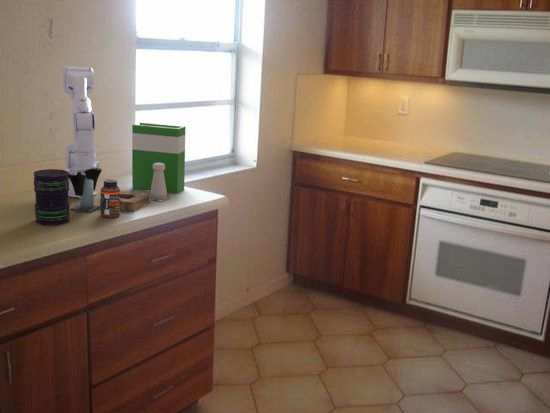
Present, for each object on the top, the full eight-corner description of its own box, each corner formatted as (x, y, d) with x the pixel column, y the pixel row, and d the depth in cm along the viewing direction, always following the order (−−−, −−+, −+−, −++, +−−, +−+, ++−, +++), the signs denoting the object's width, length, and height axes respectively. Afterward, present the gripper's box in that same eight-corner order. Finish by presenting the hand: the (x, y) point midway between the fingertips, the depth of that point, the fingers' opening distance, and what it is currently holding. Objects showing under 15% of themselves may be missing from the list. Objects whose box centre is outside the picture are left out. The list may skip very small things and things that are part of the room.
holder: (100, 207, 203) (100, 198, 202) (117, 199, 214) (117, 190, 213) (133, 211, 200) (133, 202, 199) (149, 203, 211) (149, 194, 211)
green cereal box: (132, 189, 229) (132, 124, 223) (140, 185, 236) (140, 122, 230) (177, 194, 226) (178, 128, 220) (184, 189, 233) (185, 126, 227)
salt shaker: (163, 202, 214) (163, 165, 210) (147, 200, 215) (147, 163, 211) (169, 198, 219) (169, 162, 216) (154, 196, 220) (154, 160, 217)
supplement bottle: (110, 219, 190) (109, 183, 187) (96, 215, 193) (96, 180, 190) (124, 215, 195) (124, 180, 192) (110, 212, 198) (110, 177, 195)
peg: (78, 208, 197) (77, 181, 195) (82, 205, 201) (82, 178, 199) (91, 209, 197) (90, 182, 195) (95, 206, 201) (95, 179, 199)
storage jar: (36, 227, 179) (33, 176, 175) (34, 217, 187) (32, 169, 183) (72, 224, 183) (70, 175, 179) (68, 215, 191) (67, 168, 187)
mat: (70, 210, 197) (70, 208, 197) (81, 205, 204) (81, 203, 204) (89, 213, 196) (89, 211, 195) (101, 207, 202) (100, 206, 202)
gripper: (83, 156, 187) (84, 199, 191) (107, 149, 201) (107, 189, 204) (62, 153, 189) (64, 196, 192) (87, 146, 202) (88, 187, 206)
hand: (85, 192), depth 198 cm, fingers open, 7 cm apart
